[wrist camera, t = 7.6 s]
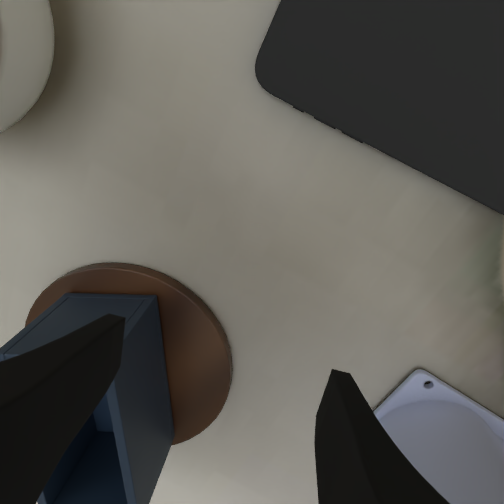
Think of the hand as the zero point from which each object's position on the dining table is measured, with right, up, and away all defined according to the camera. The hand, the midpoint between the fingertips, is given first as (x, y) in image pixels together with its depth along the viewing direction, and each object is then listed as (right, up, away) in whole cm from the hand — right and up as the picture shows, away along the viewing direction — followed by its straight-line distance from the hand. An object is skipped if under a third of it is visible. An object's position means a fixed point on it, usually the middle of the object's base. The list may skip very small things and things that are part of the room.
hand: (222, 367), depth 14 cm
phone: (+9, +12, +5) cm, 15 cm away
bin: (-7, -4, +11) cm, 14 cm away
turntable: (-7, -3, +12) cm, 14 cm away
